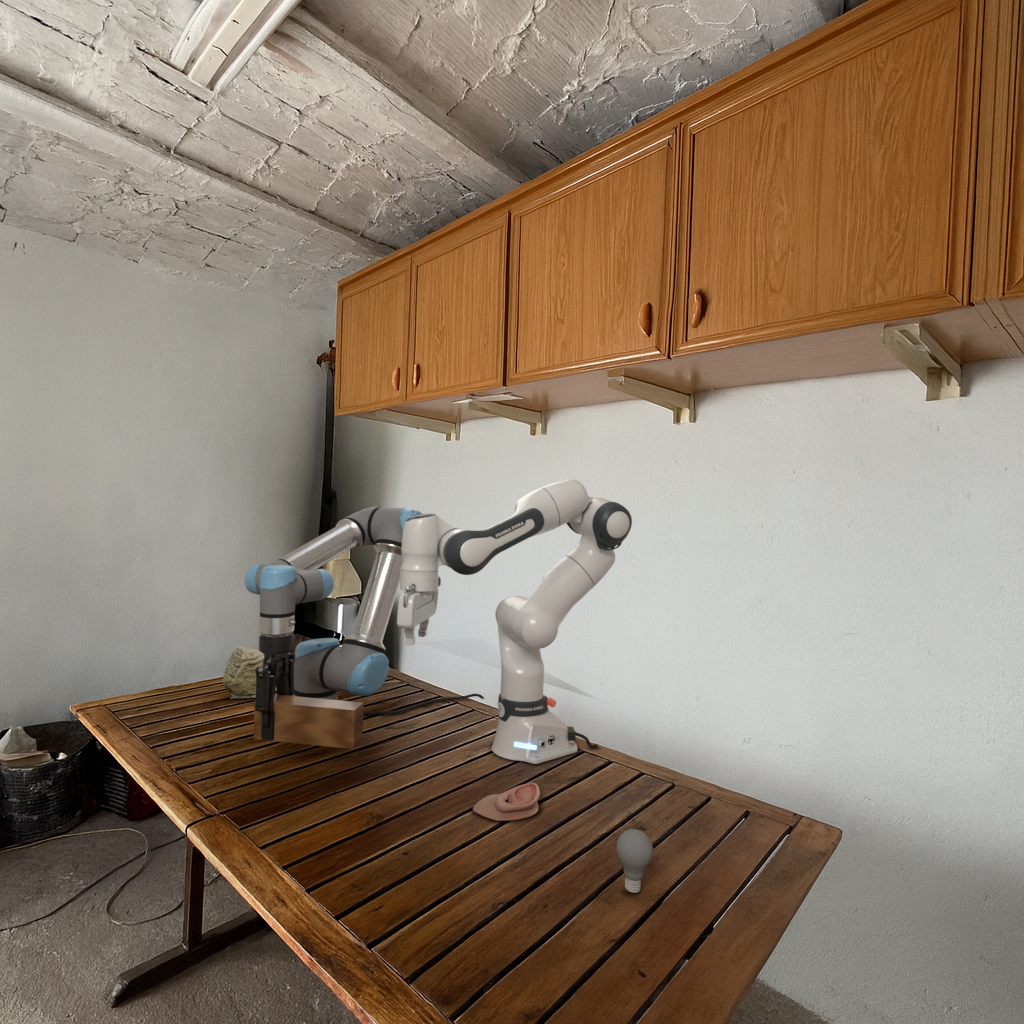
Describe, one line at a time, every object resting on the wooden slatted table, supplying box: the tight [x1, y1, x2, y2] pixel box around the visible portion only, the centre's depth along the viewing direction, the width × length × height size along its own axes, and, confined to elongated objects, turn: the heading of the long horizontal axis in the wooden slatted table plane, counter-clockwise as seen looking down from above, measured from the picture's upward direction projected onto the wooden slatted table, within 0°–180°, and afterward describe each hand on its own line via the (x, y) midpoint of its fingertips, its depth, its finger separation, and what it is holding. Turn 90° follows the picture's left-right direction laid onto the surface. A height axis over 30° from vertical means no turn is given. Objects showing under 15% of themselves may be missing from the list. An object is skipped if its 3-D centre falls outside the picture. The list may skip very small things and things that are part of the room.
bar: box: [253, 694, 365, 750], centre depth 144 cm, size 24×5×9 cm, turn 81°
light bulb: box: [615, 828, 654, 894], centre depth 106 cm, size 6×6×10 cm
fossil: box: [222, 646, 277, 699], centre depth 198 cm, size 9×18×15 cm, turn 132°
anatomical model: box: [472, 782, 541, 822], centre depth 132 cm, size 13×4×12 cm
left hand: (274, 733), depth 145 cm, fingers closed on bar, 5 cm apart
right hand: (416, 640), depth 150 cm, fingers open, 8 cm apart
